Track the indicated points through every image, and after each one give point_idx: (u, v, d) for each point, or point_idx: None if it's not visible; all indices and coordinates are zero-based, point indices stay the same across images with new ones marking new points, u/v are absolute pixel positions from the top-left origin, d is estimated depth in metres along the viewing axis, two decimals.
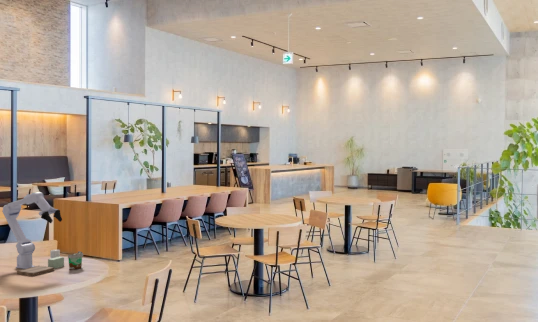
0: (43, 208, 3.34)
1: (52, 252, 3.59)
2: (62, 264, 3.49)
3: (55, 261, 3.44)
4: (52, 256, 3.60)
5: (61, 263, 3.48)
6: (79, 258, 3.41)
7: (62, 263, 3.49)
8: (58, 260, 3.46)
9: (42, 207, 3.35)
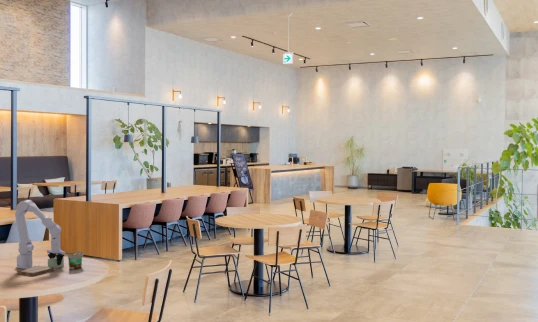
0: (59, 247, 3.46)
1: None
2: (62, 264, 3.49)
3: (55, 261, 3.44)
4: None
5: (61, 263, 3.48)
6: (79, 258, 3.41)
7: (62, 263, 3.49)
8: None
9: (59, 245, 3.46)
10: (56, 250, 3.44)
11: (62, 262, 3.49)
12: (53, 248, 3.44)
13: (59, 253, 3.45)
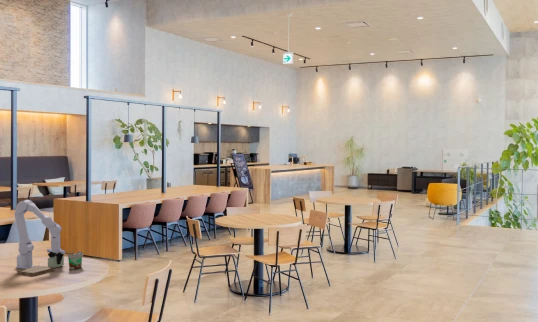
0: (59, 246, 3.46)
1: None
2: (62, 263, 3.49)
3: (55, 260, 3.43)
4: None
5: (61, 262, 3.48)
6: (79, 258, 3.41)
7: (62, 262, 3.49)
8: None
9: (59, 245, 3.46)
10: (56, 249, 3.44)
11: (62, 261, 3.49)
12: (53, 247, 3.44)
13: (59, 252, 3.45)
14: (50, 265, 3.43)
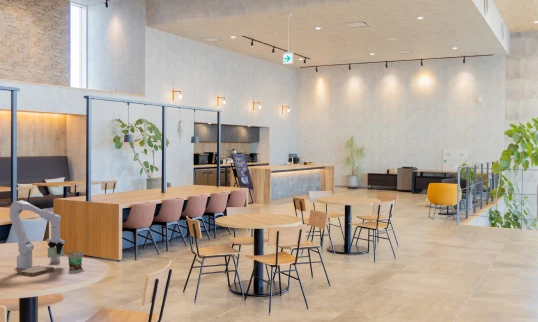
0: (59, 236, 3.46)
1: None
2: (62, 253, 3.48)
3: (55, 250, 3.43)
4: None
5: (61, 253, 3.48)
6: (79, 258, 3.41)
7: (62, 252, 3.48)
8: None
9: (59, 234, 3.46)
10: (56, 239, 3.44)
11: (62, 251, 3.49)
12: (53, 237, 3.44)
13: (59, 242, 3.45)
14: (50, 255, 3.43)
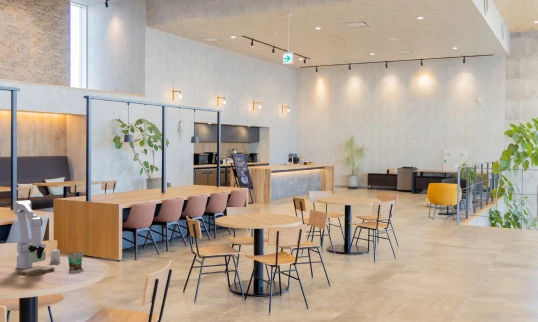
0: (40, 240, 3.32)
1: (52, 252, 3.59)
2: (43, 258, 3.35)
3: (36, 254, 3.30)
4: (52, 256, 3.60)
5: (42, 257, 3.35)
6: (79, 258, 3.41)
7: (43, 257, 3.35)
8: None
9: (40, 238, 3.32)
10: (36, 243, 3.30)
11: (44, 256, 3.35)
12: (33, 241, 3.30)
13: (39, 246, 3.31)
14: (31, 259, 3.29)
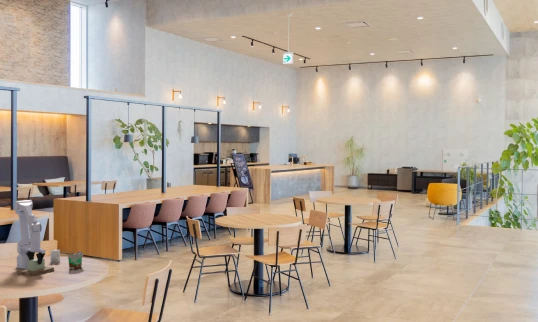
0: (39, 245, 3.31)
1: (52, 252, 3.59)
2: (43, 266, 3.35)
3: (35, 263, 3.29)
4: (52, 256, 3.60)
5: (42, 265, 3.34)
6: (79, 258, 3.41)
7: (43, 265, 3.35)
8: None
9: (39, 244, 3.31)
10: (35, 249, 3.30)
11: (43, 264, 3.35)
12: (32, 246, 3.29)
13: (39, 252, 3.30)
14: (30, 268, 3.29)
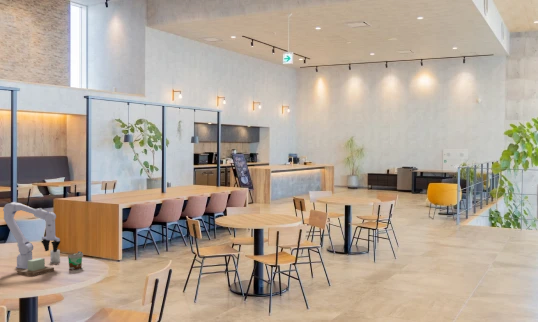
0: (54, 234, 3.47)
1: (52, 252, 3.59)
2: (43, 266, 3.35)
3: (35, 263, 3.29)
4: (52, 256, 3.60)
5: (42, 265, 3.34)
6: (79, 258, 3.41)
7: (43, 265, 3.35)
8: (38, 261, 3.32)
9: (54, 232, 3.46)
10: (51, 237, 3.45)
11: (43, 264, 3.35)
12: (48, 235, 3.44)
13: (54, 240, 3.45)
14: (30, 268, 3.29)
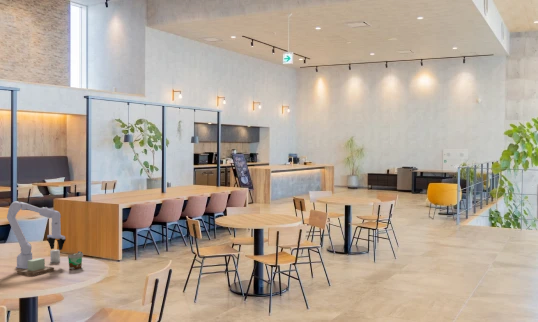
0: (59, 232, 3.52)
1: (52, 252, 3.59)
2: (43, 266, 3.35)
3: (35, 263, 3.29)
4: (52, 256, 3.60)
5: (42, 265, 3.34)
6: (79, 258, 3.41)
7: (43, 265, 3.35)
8: (38, 261, 3.32)
9: (59, 230, 3.52)
10: (56, 235, 3.51)
11: (43, 264, 3.35)
12: (53, 233, 3.50)
13: (59, 238, 3.51)
14: (30, 268, 3.29)
